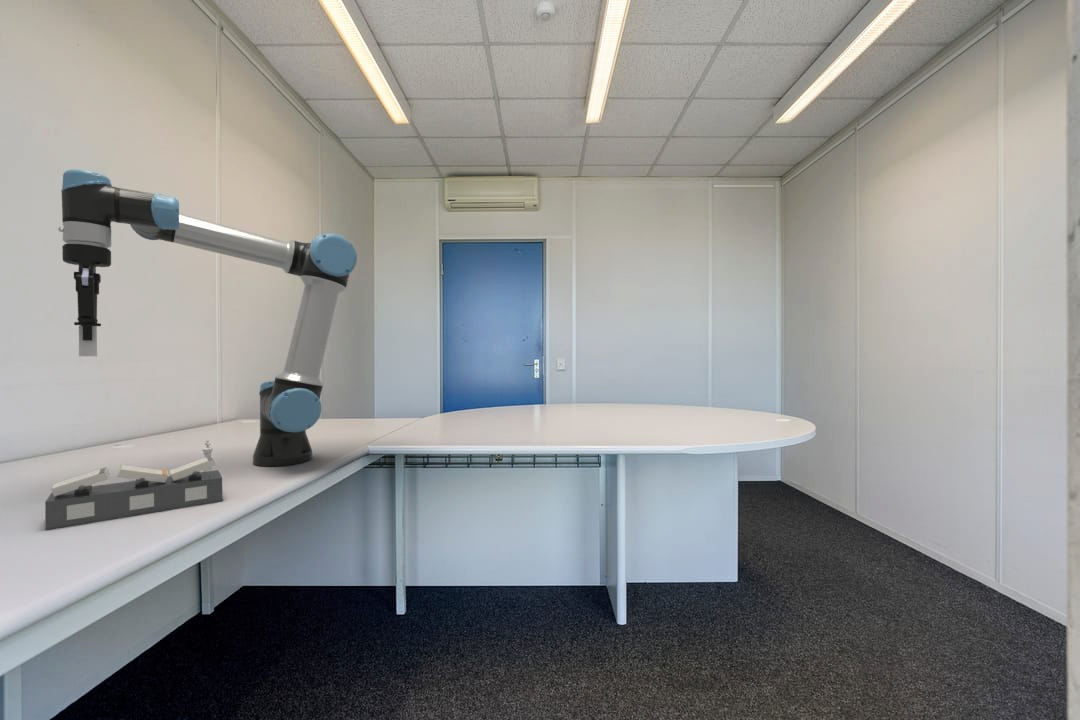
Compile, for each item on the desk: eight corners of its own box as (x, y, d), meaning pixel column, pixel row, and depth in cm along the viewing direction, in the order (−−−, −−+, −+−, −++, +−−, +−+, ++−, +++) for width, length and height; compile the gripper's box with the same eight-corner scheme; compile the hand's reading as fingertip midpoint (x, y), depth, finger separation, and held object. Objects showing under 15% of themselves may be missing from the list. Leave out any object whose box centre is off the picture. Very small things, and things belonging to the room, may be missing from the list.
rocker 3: (214, 463, 104) (211, 455, 103) (216, 467, 100) (213, 458, 100) (173, 478, 99) (169, 469, 99) (174, 483, 96) (170, 474, 95)
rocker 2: (163, 480, 98) (167, 470, 99) (164, 484, 95) (168, 475, 95) (117, 474, 94) (122, 464, 94) (116, 479, 90) (120, 468, 91)
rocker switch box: (218, 492, 106) (218, 467, 106) (222, 501, 99) (222, 474, 99) (52, 517, 89) (52, 488, 89) (45, 530, 83) (45, 498, 83)
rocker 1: (110, 476, 93) (106, 467, 93) (109, 481, 90) (105, 471, 89) (58, 493, 88) (54, 483, 88) (54, 498, 85) (50, 488, 85)
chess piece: (201, 485, 111) (201, 443, 111) (191, 482, 113) (190, 441, 113) (224, 480, 115) (223, 439, 115) (213, 477, 118) (213, 437, 118)
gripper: (66, 248, 103) (67, 355, 104) (58, 237, 93) (58, 356, 94) (112, 253, 108) (113, 355, 109) (109, 243, 98) (109, 356, 99)
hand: (88, 356), depth 101 cm, fingers closed
